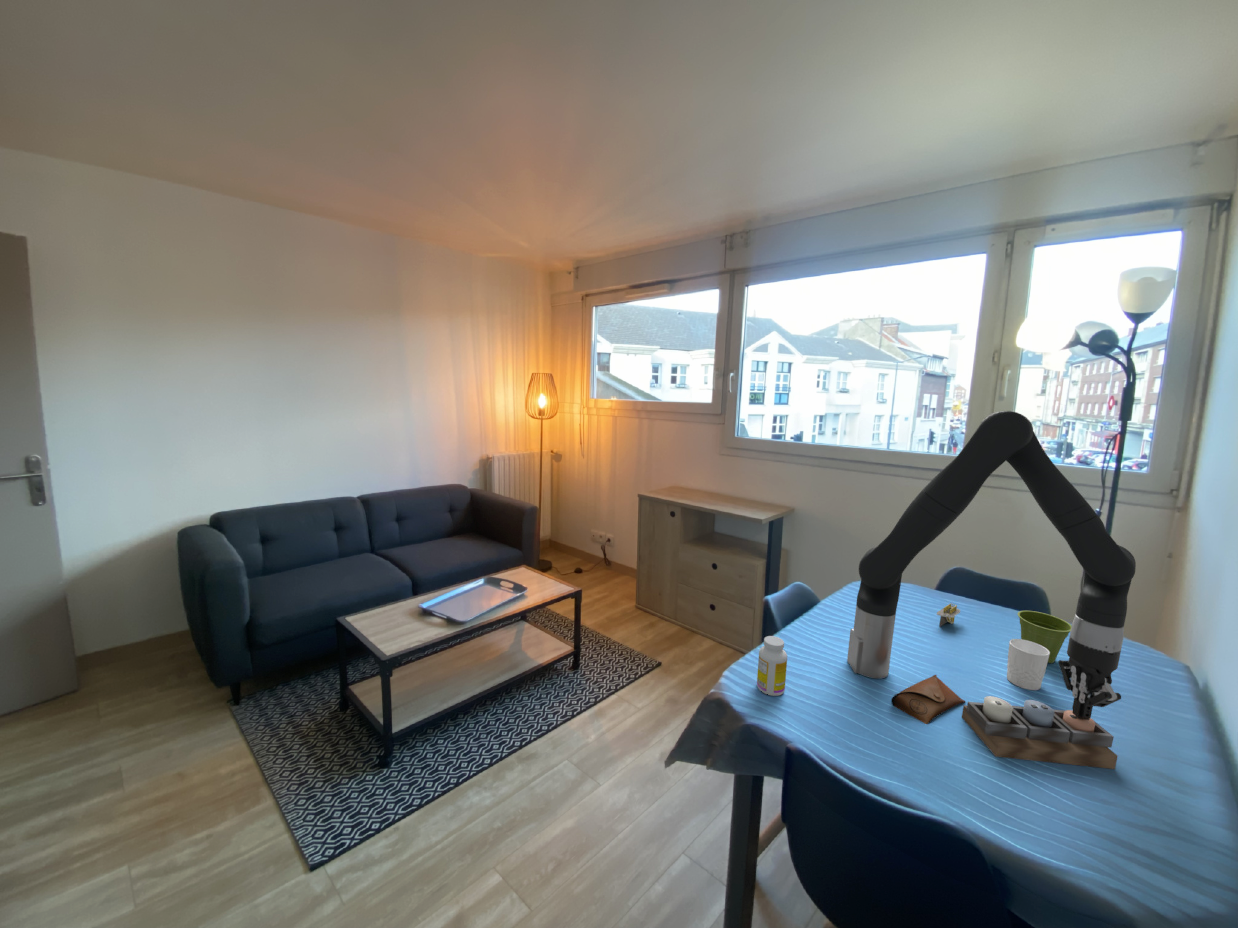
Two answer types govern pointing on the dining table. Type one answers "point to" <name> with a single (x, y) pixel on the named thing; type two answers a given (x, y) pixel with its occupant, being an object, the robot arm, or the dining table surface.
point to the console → (1041, 739)
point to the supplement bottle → (772, 666)
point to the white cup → (1026, 663)
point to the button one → (997, 709)
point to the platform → (948, 614)
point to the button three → (1078, 722)
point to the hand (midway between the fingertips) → (1080, 716)
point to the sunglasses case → (926, 699)
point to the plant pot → (1044, 631)
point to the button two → (1038, 713)
